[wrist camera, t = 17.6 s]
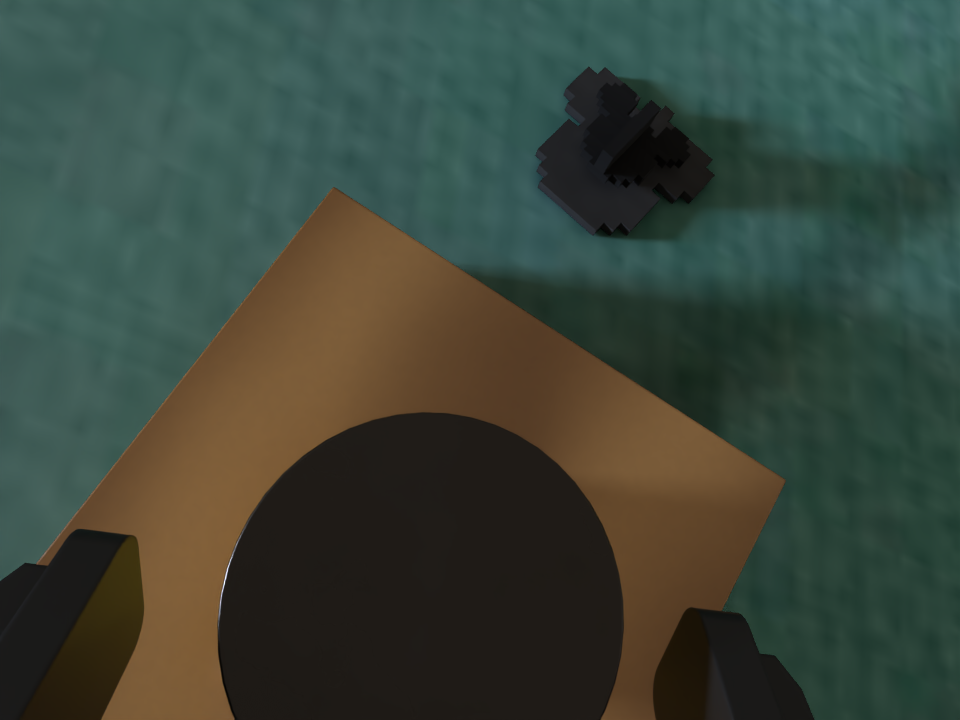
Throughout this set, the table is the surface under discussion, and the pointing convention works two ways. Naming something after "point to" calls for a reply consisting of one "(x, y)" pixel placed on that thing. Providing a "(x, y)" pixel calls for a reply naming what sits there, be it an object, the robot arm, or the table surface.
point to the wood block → (399, 390)
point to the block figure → (617, 156)
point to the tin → (421, 583)
